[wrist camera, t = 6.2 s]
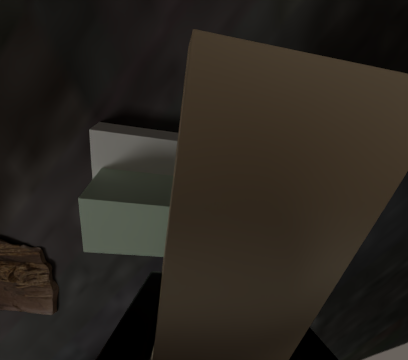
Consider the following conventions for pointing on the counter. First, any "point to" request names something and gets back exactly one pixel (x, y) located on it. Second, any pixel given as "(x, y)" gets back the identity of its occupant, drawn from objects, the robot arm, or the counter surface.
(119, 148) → the fulcrum board
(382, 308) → the counter surface
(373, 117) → the beech bar
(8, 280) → the fossil slab
